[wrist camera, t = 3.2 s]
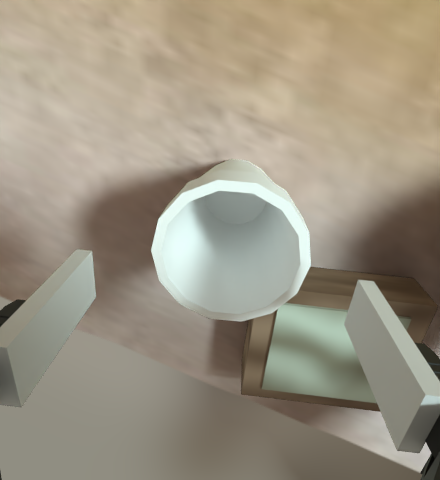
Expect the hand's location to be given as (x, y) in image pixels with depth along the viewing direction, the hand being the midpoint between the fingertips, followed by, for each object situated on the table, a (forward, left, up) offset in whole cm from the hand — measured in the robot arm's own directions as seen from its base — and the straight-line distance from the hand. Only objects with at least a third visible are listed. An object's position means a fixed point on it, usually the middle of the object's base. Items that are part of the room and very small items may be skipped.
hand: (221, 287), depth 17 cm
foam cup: (0, 0, -17) cm, 17 cm away
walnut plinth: (+14, +11, -16) cm, 24 cm away
